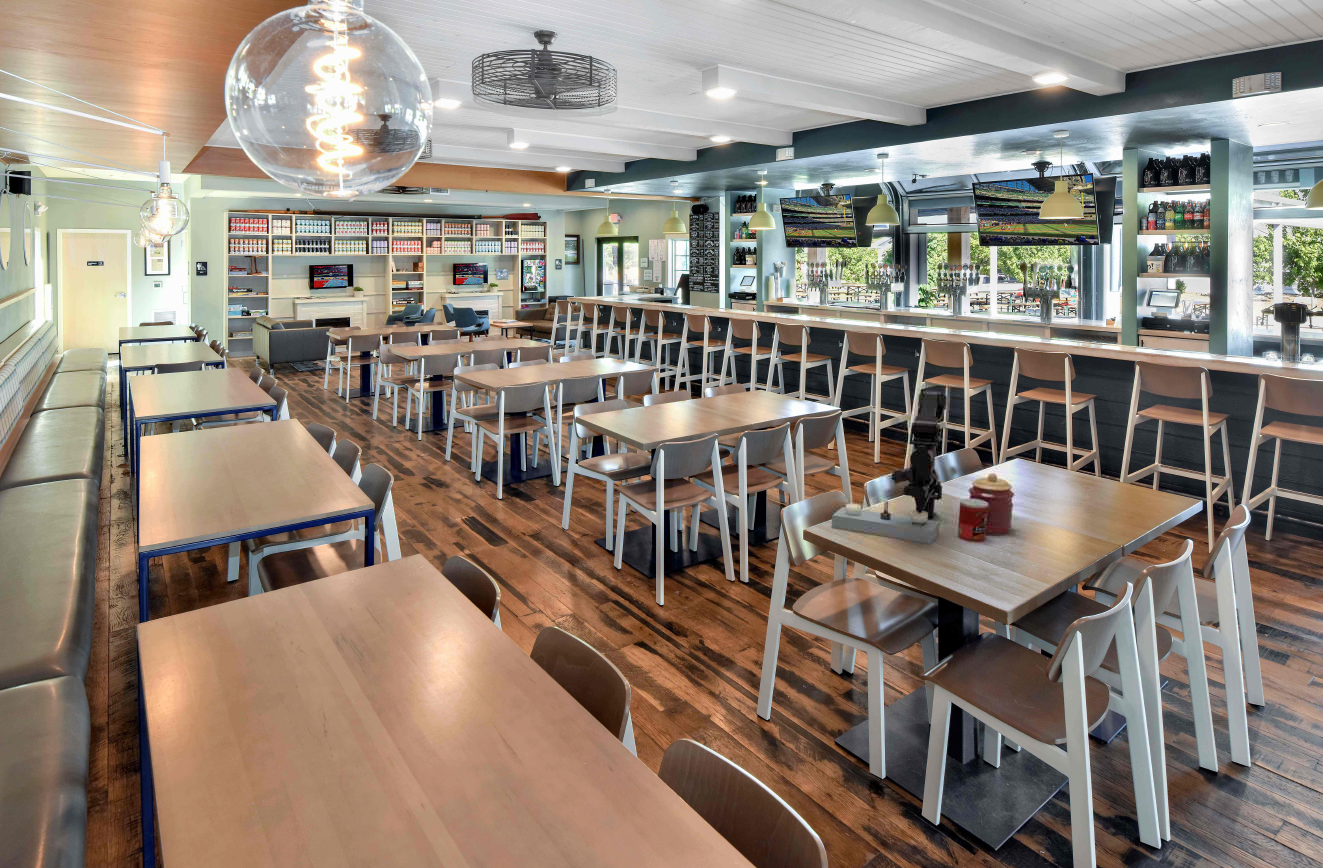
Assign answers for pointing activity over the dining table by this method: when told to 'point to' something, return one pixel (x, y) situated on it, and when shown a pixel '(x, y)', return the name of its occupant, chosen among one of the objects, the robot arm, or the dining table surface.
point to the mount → (886, 526)
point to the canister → (995, 502)
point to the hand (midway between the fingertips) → (919, 512)
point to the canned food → (973, 519)
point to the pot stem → (885, 512)
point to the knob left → (853, 509)
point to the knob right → (919, 517)
